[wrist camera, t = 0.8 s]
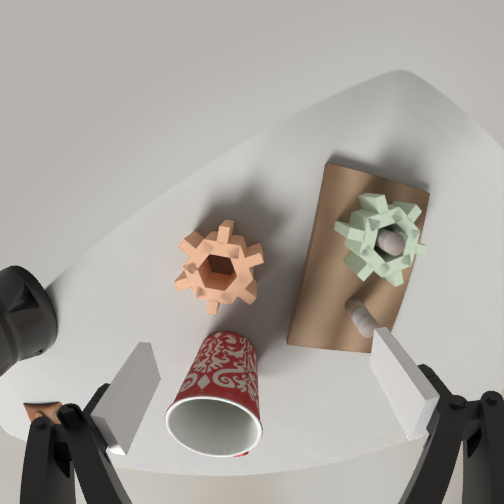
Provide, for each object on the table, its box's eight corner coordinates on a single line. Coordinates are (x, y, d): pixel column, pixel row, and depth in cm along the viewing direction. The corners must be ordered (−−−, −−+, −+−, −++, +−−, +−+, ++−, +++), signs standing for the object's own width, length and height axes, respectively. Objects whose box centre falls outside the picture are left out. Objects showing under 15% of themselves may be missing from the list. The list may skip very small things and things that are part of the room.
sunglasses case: (59, 399, 40) (56, 430, 35) (85, 411, 44) (84, 440, 39) (21, 403, 42) (18, 427, 37) (43, 414, 46) (41, 437, 42)
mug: (182, 331, 34) (147, 401, 21) (252, 316, 34) (247, 390, 21) (214, 402, 37) (199, 475, 24) (275, 393, 36) (279, 469, 23)
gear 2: (326, 262, 30) (337, 277, 26) (342, 186, 28) (358, 187, 24) (396, 275, 30) (415, 290, 26) (413, 206, 29) (436, 211, 24)
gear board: (286, 338, 34) (291, 374, 27) (325, 164, 29) (344, 158, 22) (378, 348, 34) (398, 380, 27) (423, 192, 30) (459, 196, 22)
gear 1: (201, 303, 34) (192, 322, 29) (174, 238, 32) (159, 248, 27) (273, 280, 33) (276, 296, 28) (248, 210, 31) (246, 215, 26)
